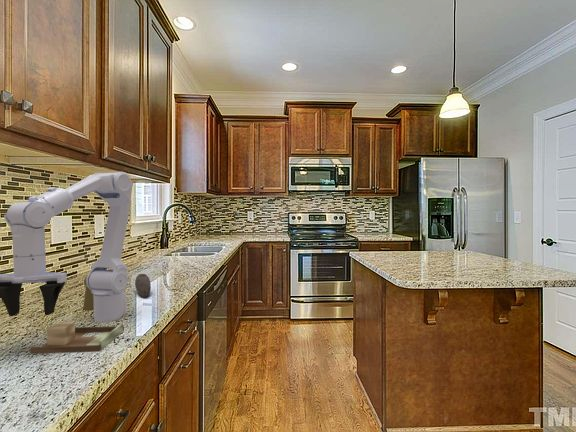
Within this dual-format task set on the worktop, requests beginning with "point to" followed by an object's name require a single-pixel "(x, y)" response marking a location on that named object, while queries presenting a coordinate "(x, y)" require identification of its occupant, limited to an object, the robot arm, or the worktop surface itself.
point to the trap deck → (84, 341)
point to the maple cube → (61, 333)
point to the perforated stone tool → (143, 285)
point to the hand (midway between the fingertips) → (32, 314)
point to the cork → (88, 298)
